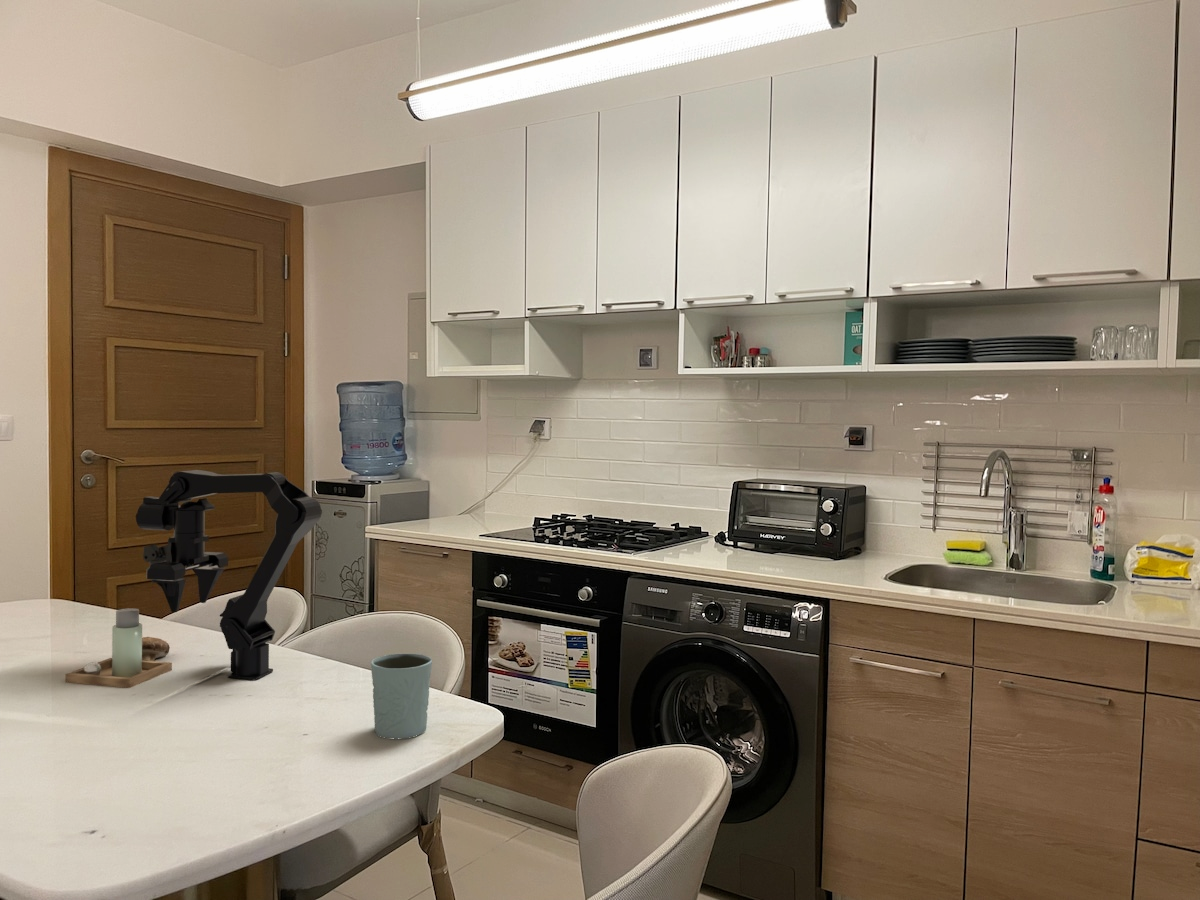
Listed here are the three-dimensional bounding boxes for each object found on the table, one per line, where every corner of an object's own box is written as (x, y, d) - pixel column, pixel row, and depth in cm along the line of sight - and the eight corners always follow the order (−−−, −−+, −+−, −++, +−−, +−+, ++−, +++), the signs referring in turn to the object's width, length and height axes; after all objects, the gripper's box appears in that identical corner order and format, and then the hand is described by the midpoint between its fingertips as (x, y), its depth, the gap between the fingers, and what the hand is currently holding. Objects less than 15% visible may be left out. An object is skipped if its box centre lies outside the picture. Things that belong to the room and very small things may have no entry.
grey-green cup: (370, 742, 146) (371, 670, 146) (369, 722, 156) (370, 653, 156) (433, 738, 149) (434, 666, 149) (428, 717, 159) (429, 650, 158)
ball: (105, 676, 176) (105, 661, 176) (93, 680, 173) (93, 665, 173) (91, 675, 176) (91, 660, 176) (80, 679, 173) (80, 664, 173)
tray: (171, 674, 181) (171, 662, 181) (130, 692, 169) (130, 679, 169) (110, 669, 184) (110, 657, 183) (65, 687, 172) (65, 674, 172)
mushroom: (154, 655, 183) (152, 627, 186) (118, 669, 183) (117, 641, 186) (178, 664, 190) (176, 637, 193) (143, 678, 190) (142, 650, 193)
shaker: (146, 676, 176) (147, 610, 176) (118, 681, 172) (119, 614, 172) (135, 670, 180) (135, 606, 179) (107, 675, 176) (108, 610, 175)
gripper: (183, 524, 194) (183, 596, 195) (122, 535, 176) (122, 614, 176) (229, 526, 192) (229, 599, 193) (172, 538, 174) (172, 618, 174)
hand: (188, 607), depth 184 cm, fingers open, 9 cm apart
